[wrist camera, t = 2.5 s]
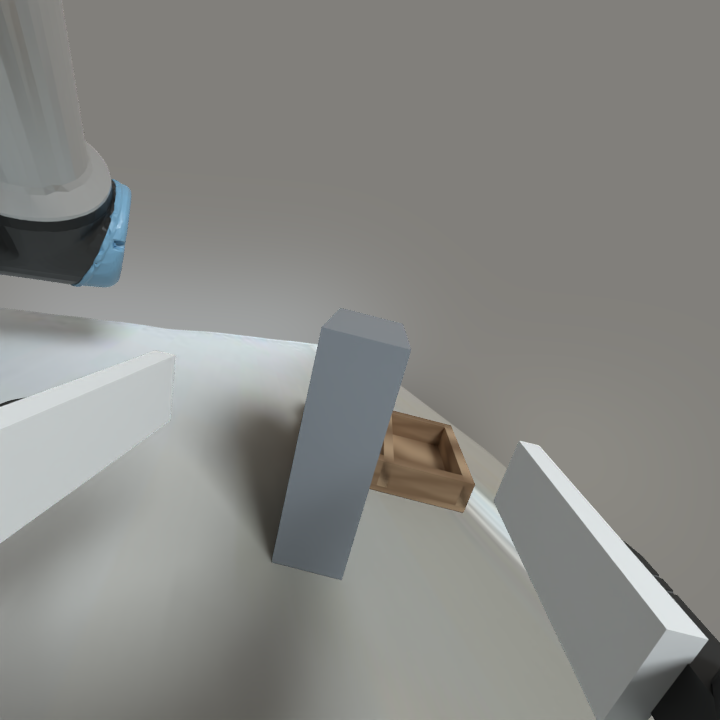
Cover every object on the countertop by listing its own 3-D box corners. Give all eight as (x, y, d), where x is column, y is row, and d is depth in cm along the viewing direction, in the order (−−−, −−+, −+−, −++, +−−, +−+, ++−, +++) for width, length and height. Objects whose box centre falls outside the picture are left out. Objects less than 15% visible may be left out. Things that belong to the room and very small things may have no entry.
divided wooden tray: (463, 512, 33) (478, 475, 31) (290, 468, 33) (298, 429, 31) (442, 447, 44) (453, 418, 43) (315, 415, 44) (321, 385, 43)
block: (341, 580, 23) (411, 349, 18) (271, 562, 23) (321, 326, 18) (352, 500, 30) (403, 323, 26) (299, 487, 30) (340, 307, 26)
